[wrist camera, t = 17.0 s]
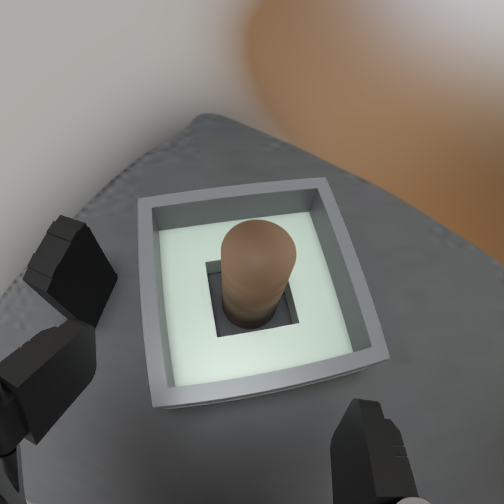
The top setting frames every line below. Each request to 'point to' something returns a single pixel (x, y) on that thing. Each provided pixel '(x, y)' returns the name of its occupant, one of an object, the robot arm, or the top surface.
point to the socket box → (296, 292)
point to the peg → (255, 271)
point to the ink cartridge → (72, 271)
